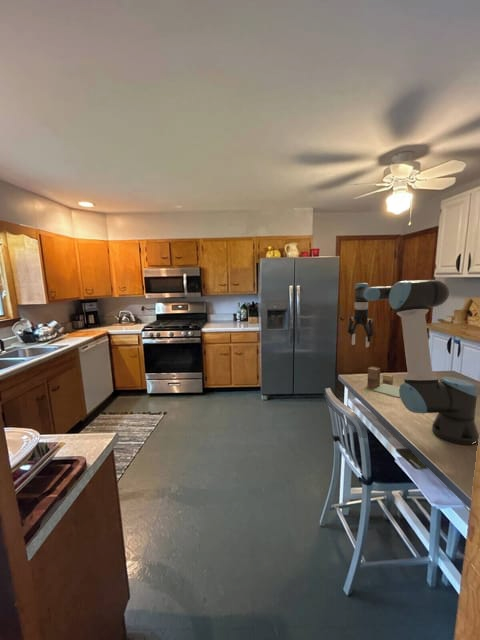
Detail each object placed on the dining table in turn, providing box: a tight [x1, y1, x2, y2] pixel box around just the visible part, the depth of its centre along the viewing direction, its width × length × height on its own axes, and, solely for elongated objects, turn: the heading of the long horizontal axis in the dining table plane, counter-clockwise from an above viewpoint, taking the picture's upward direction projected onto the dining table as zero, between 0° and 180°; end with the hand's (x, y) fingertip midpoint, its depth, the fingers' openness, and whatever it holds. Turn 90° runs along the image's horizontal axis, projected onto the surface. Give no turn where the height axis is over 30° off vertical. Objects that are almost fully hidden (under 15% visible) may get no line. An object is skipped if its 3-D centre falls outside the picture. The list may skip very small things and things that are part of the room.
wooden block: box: [366, 366, 381, 389], centre depth 168 cm, size 5×5×11 cm
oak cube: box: [382, 372, 394, 385], centre depth 173 cm, size 5×5×5 cm
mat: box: [372, 383, 400, 399], centre depth 161 cm, size 14×14×1 cm
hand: (360, 345), depth 172 cm, fingers open, 8 cm apart
